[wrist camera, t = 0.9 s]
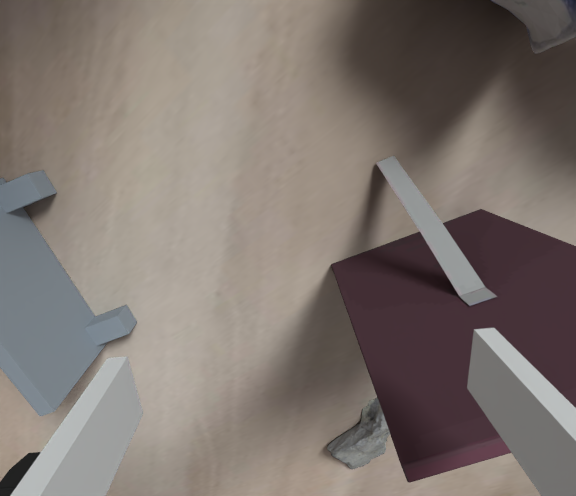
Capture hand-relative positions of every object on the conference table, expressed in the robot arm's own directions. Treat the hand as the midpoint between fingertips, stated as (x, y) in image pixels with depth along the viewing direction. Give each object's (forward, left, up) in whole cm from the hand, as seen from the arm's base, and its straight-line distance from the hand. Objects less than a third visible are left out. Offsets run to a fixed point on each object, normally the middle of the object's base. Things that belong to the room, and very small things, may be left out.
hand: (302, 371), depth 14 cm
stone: (+31, -2, -26) cm, 40 cm away
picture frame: (+3, +11, -25) cm, 27 cm away
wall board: (-4, -23, -25) cm, 34 cm away
